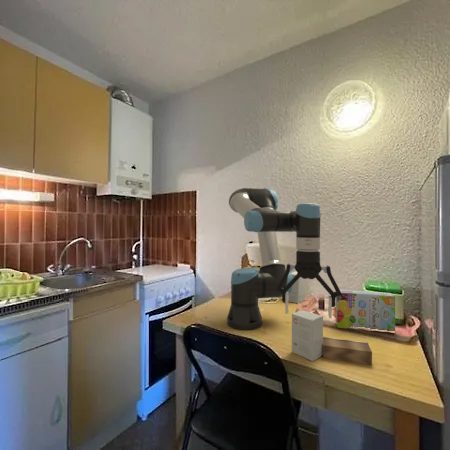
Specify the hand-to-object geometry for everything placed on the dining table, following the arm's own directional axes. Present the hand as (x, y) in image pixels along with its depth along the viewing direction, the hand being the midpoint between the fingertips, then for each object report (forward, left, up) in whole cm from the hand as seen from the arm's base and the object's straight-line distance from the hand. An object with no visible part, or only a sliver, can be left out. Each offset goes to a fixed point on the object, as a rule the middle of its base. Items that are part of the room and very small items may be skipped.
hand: (307, 314), depth 87 cm
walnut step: (+12, +2, -13) cm, 18 cm away
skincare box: (-6, +59, -13) cm, 61 cm away
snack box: (+22, +29, -14) cm, 39 cm away
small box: (0, 0, -13) cm, 13 cm away
